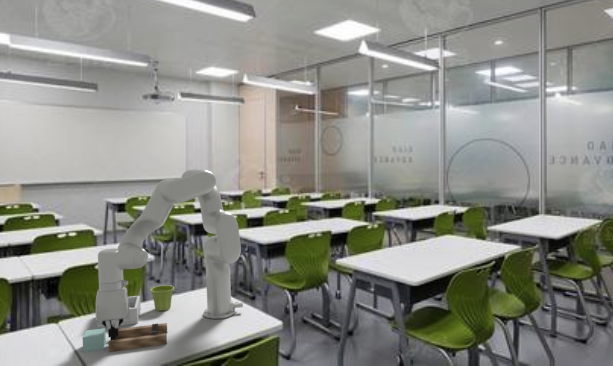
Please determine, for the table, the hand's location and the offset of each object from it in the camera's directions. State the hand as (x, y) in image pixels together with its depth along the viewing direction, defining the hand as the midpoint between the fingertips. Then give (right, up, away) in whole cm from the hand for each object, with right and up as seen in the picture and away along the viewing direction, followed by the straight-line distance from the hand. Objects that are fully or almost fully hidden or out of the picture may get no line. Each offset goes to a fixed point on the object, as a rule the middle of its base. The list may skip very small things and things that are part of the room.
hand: (113, 338), depth 144 cm
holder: (-8, -1, +24) cm, 25 cm away
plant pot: (+5, 0, +34) cm, 35 cm away
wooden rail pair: (+8, -2, +3) cm, 8 cm away
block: (-6, -2, -1) cm, 6 cm away
